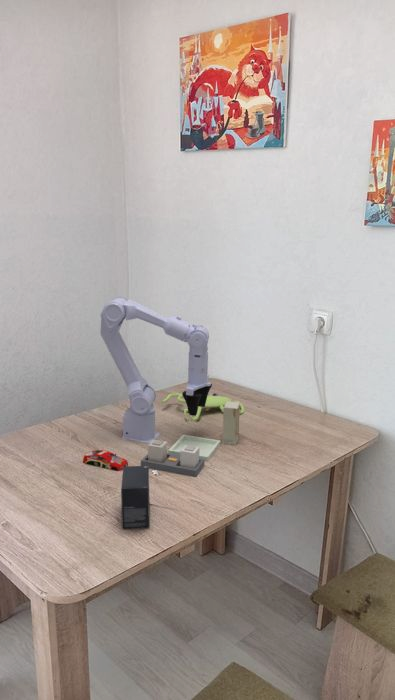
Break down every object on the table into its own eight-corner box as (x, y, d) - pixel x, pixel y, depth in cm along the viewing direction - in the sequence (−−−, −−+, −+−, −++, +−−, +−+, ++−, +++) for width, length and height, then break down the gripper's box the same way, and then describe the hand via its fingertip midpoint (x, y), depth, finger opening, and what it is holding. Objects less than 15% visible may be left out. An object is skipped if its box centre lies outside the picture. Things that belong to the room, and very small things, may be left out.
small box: (122, 504, 136) (122, 465, 133) (149, 504, 136) (149, 464, 134) (120, 529, 126) (120, 487, 123) (150, 528, 126) (149, 486, 123)
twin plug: (148, 465, 155) (148, 443, 153) (154, 459, 158) (154, 438, 157) (161, 467, 153) (161, 446, 152) (167, 461, 157) (167, 440, 155)
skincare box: (236, 447, 168) (237, 409, 165) (221, 445, 169) (223, 407, 166) (238, 438, 175) (240, 401, 171) (225, 437, 175) (226, 400, 172)
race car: (131, 467, 155) (131, 454, 154) (121, 475, 150) (121, 462, 149) (91, 457, 160) (91, 444, 159) (80, 465, 156) (80, 452, 155)
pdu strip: (140, 468, 154) (140, 459, 153) (151, 458, 160) (151, 449, 160) (195, 479, 149) (196, 469, 148) (204, 467, 155) (204, 458, 154)
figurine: (158, 408, 200) (158, 393, 198) (223, 397, 211) (224, 383, 210) (180, 426, 184) (180, 410, 182) (249, 414, 195) (250, 399, 194)
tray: (168, 456, 162) (168, 450, 161) (183, 439, 173) (183, 434, 172) (207, 463, 158) (207, 457, 157) (220, 446, 169) (220, 440, 168)
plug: (180, 471, 152) (180, 449, 150) (185, 464, 155) (185, 443, 154) (194, 473, 150) (194, 451, 149) (199, 467, 154) (199, 445, 152)
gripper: (202, 376, 158) (201, 420, 162) (218, 362, 171) (217, 404, 175) (179, 373, 161) (178, 417, 164) (196, 360, 174) (195, 401, 177)
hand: (197, 410), depth 170 cm, fingers open, 7 cm apart
